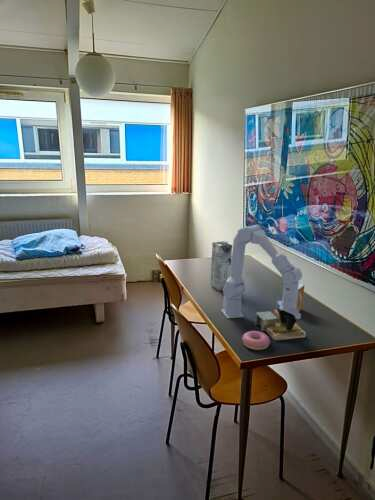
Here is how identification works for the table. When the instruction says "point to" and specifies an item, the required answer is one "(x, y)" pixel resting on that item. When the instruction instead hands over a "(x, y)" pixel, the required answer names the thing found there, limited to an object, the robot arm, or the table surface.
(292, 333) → the beige tray
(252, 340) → the doughnut
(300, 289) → the small box
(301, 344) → the table surface
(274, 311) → the salmon pink block
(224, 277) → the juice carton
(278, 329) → the olive rectangular pillar
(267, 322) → the socket sleeve
